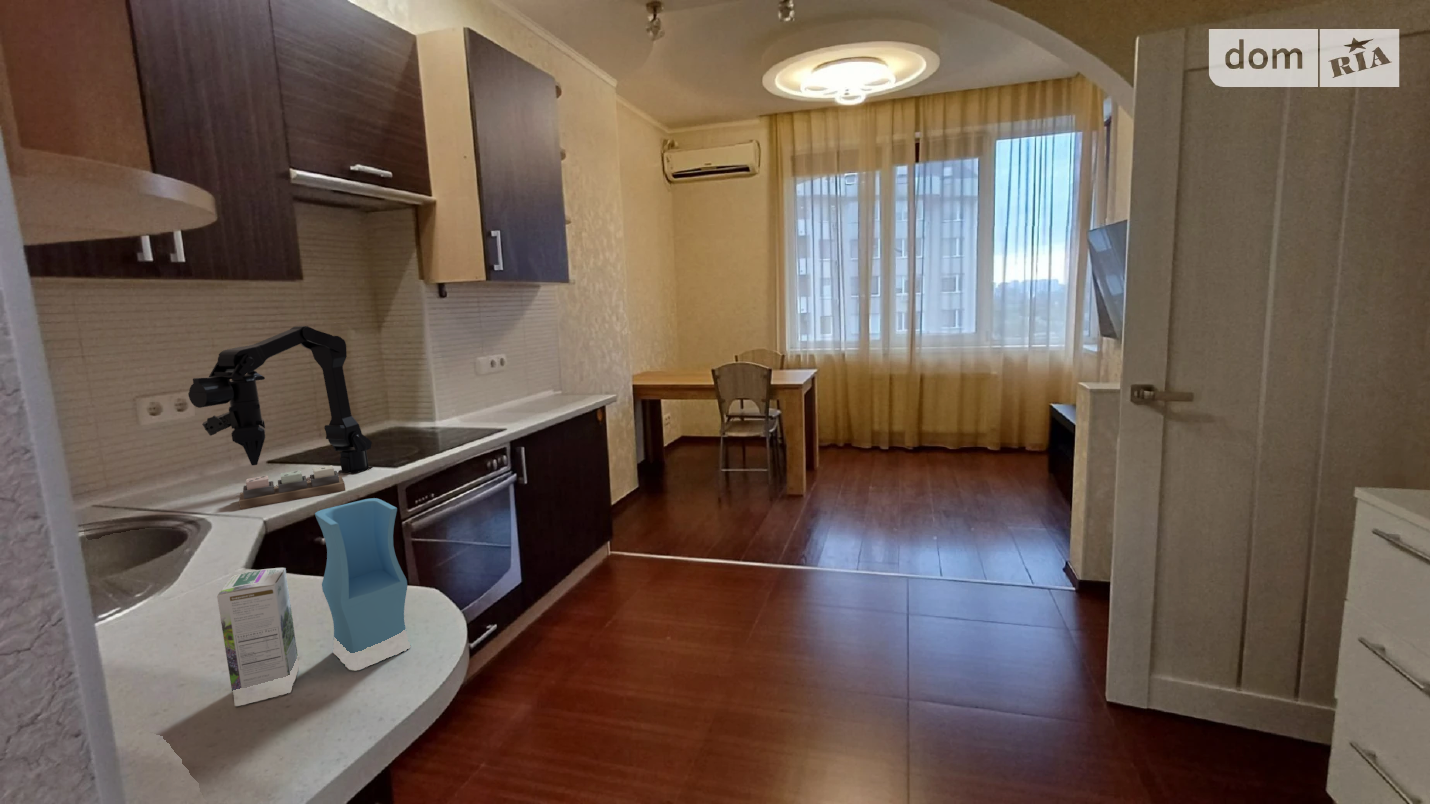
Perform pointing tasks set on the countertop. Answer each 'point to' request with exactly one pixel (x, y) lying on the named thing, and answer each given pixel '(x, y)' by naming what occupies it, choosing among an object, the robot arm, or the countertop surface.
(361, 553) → the blue tall chair-shaped block
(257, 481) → the tile three
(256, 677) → the syrup box
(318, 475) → the tile one
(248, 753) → the countertop surface
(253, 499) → the digit board
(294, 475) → the tile two
